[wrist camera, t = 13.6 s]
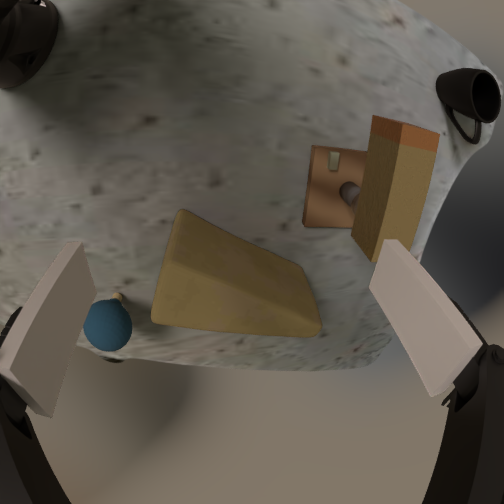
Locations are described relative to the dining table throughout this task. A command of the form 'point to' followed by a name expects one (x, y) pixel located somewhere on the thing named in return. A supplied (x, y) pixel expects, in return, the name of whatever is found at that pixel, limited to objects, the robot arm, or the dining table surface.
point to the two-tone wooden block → (393, 184)
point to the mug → (470, 97)
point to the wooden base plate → (332, 186)
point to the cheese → (230, 285)
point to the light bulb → (108, 324)
